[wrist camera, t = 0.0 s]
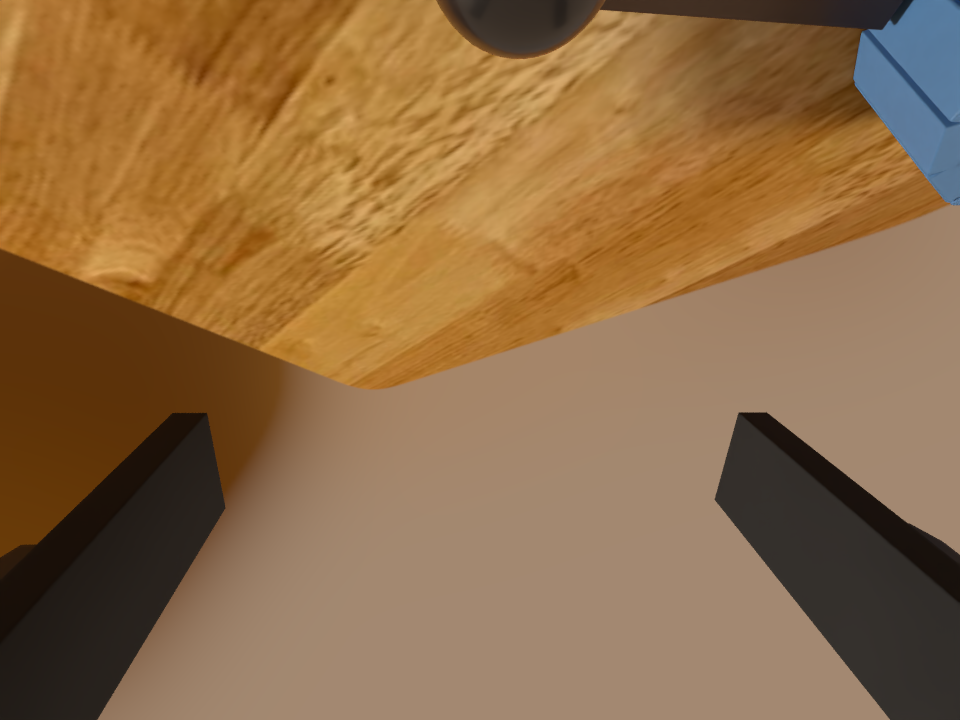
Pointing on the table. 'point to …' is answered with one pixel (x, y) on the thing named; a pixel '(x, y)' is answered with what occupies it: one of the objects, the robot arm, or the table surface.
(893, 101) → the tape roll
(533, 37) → the peg stand
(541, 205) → the table surface
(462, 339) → the table surface
